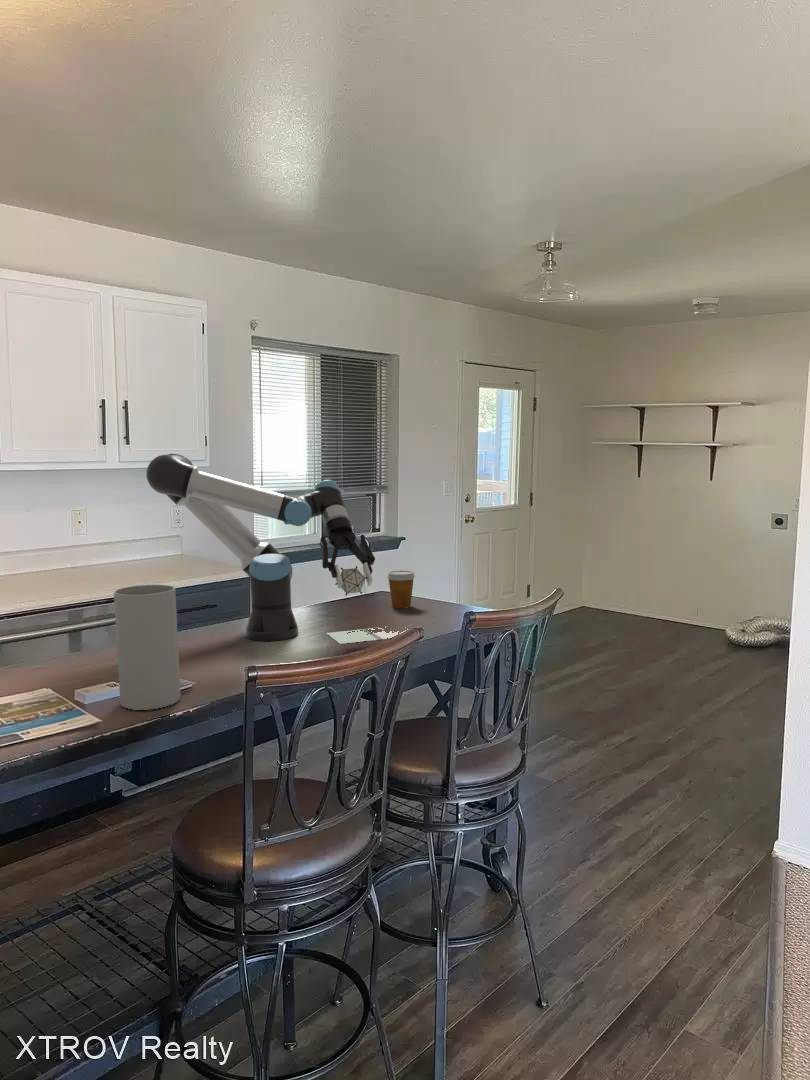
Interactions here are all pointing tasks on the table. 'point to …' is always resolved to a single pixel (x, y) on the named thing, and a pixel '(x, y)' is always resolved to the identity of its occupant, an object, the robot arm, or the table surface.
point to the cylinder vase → (147, 646)
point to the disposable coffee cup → (401, 588)
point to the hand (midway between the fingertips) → (355, 584)
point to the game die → (352, 580)
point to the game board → (361, 636)
